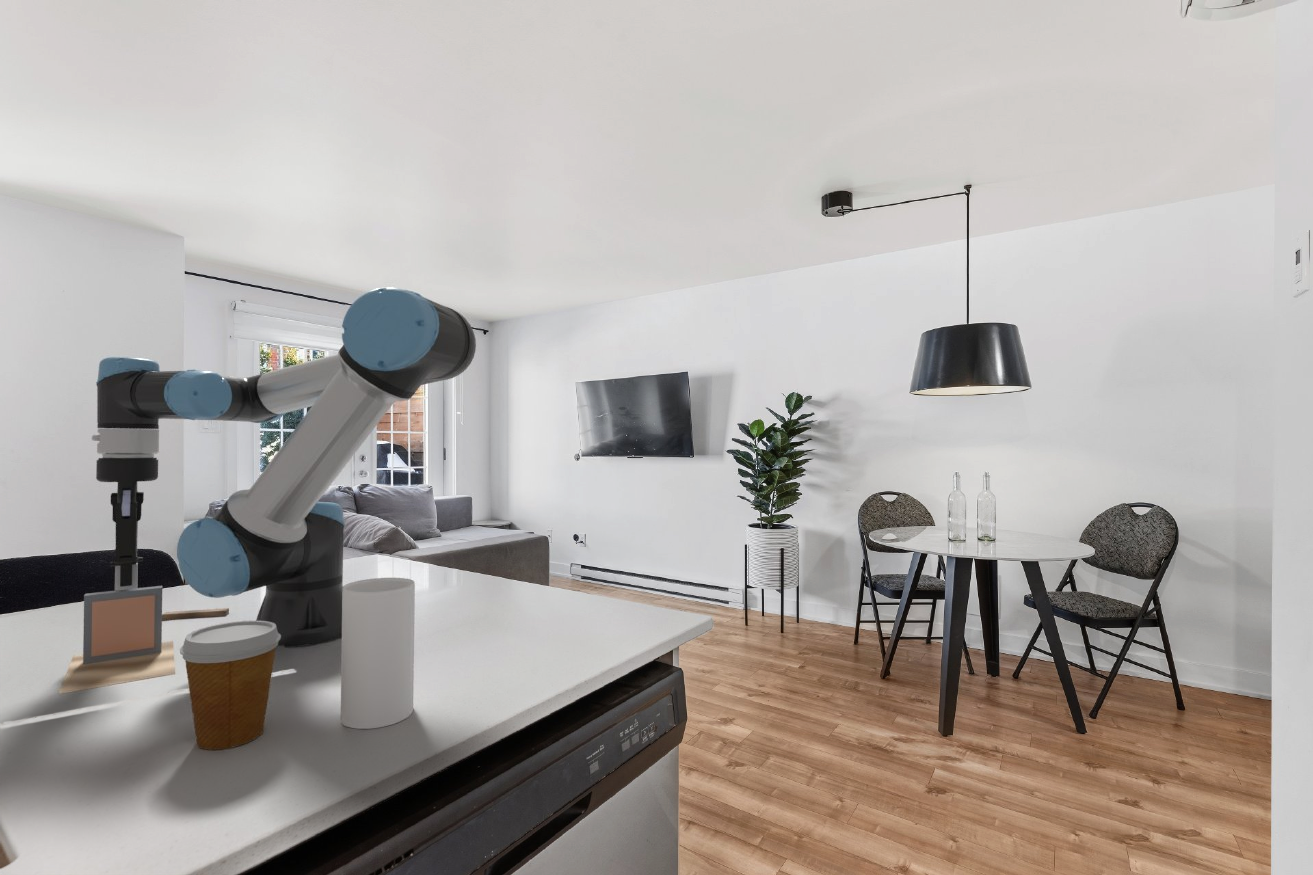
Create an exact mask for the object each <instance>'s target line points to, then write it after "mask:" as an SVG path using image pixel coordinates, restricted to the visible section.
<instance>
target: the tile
mask: <svg viewBox="0 0 1313 875" xmlns="http://www.w3.org/2000/svg"><path fill="white" fill-rule="evenodd" d="M162 614H163V585H156V586H147V587H137V588H136V589H126V590H117V591H115V590H108V591H98V592H91V593H85V594H84V595H83V634H82V636H83V637H82V638H83V641H82V642H83V644H82V645H83V646H82V649H83V650H82V654H83V665H84V664H91V663H97V662H103V661H110V660H116V659H123V658H129V657H136V656H142V655H148V654H155V653H161V646H162V643H163V639H162V638H163V636H162V635H163V632H162V631H163V630H162V626H163V621H162Z"/></svg>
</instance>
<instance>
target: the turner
mask: <svg viewBox="0 0 1313 875" xmlns="http://www.w3.org/2000/svg"><path fill="white" fill-rule="evenodd" d="M229 612H230V608H229V607H225V608H211V609H209V608H207V609H193V610H180V611H177V610H176V611H166V612H163V613H162V622H168V621H177V620H185V619H193V618H194V619H196V618H211V617H222V616H223V617H226V616H227V615H228V614H230V613H229Z"/></svg>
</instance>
